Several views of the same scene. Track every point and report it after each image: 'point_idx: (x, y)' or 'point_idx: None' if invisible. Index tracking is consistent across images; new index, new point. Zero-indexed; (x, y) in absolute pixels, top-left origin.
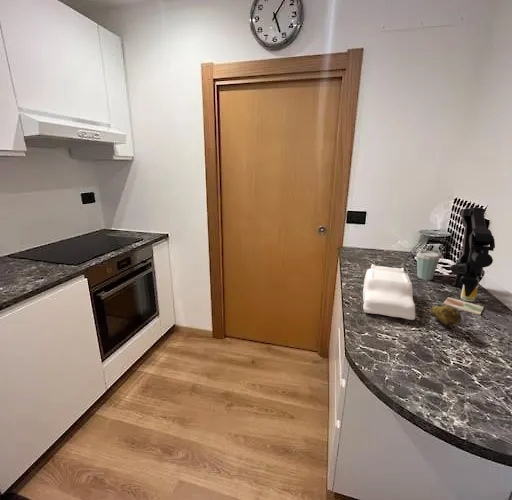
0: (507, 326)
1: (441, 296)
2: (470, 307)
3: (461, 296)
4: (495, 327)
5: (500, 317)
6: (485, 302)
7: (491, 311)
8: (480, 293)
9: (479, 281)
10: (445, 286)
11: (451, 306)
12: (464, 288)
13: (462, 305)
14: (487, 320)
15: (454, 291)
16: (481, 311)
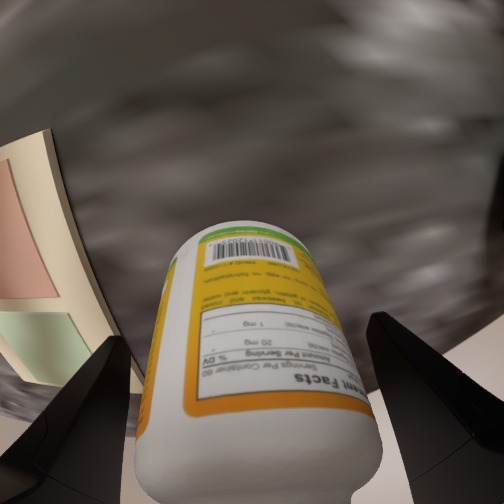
0: None
1: (47, 51)
2: (30, 346)
3: (186, 251)
4: (3, 402)
5: None
6: None
7: (136, 408)
8: (471, 300)
9: (413, 491)
10: (493, 16)
11: None
12: (145, 387)
13: (5, 302)
14: (16, 391)
15: (415, 107)
16: (57, 385)
